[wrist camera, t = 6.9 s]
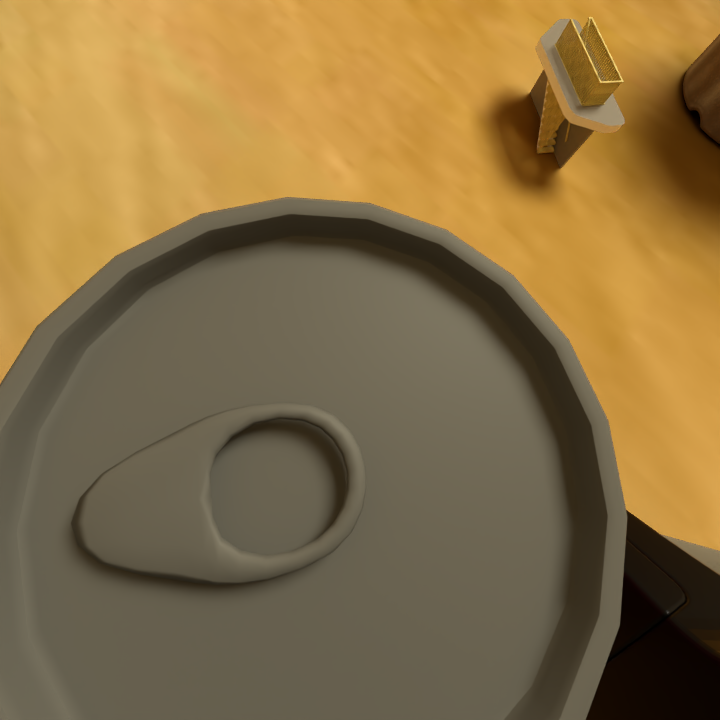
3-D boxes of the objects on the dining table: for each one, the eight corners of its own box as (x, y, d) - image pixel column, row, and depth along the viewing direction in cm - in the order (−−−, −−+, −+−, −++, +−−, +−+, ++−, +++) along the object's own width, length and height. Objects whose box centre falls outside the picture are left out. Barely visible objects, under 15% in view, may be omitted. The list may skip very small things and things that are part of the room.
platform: (502, 233, 25) (562, 164, 19) (441, 57, 29) (474, -50, 23) (631, 216, 27) (725, 149, 21) (558, 53, 31) (619, -47, 25)
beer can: (236, 386, 14) (-98, 161, 3) (380, 365, 15) (559, 138, 4) (250, 547, 13) (-318, 1411, 1) (408, 513, 14) (829, 849, 2)
